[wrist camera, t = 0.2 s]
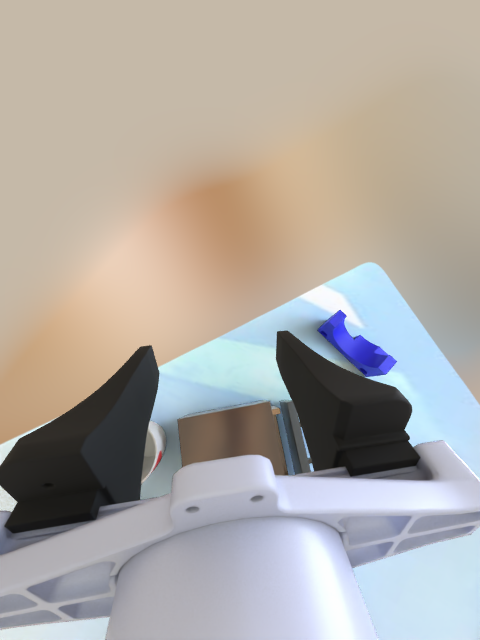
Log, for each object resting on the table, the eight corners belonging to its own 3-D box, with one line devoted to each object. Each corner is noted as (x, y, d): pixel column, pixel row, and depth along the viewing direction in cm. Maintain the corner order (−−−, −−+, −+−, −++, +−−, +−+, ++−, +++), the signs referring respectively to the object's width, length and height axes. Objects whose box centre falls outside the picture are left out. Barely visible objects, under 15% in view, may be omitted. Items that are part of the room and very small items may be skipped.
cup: (141, 478, 39) (111, 506, 30) (116, 434, 41) (81, 447, 32) (184, 445, 41) (169, 462, 31) (159, 404, 43) (137, 407, 33)
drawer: (312, 394, 43) (324, 394, 37) (331, 472, 40) (349, 486, 34) (214, 413, 42) (211, 416, 36) (226, 495, 38) (225, 514, 32)
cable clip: (381, 359, 46) (402, 355, 40) (366, 376, 45) (385, 374, 39) (332, 314, 48) (345, 304, 42) (317, 330, 47) (328, 321, 41)
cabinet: (263, 399, 43) (270, 401, 36) (280, 485, 40) (291, 508, 32) (187, 414, 42) (177, 419, 35) (197, 504, 39) (188, 531, 31)
